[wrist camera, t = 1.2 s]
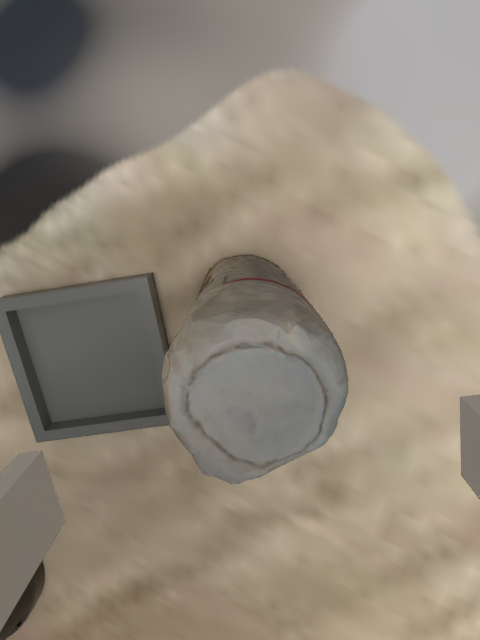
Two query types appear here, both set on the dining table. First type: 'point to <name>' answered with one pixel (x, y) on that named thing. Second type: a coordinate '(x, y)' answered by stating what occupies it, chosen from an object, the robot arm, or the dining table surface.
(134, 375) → the tray
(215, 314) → the spray can
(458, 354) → the dining table surface
